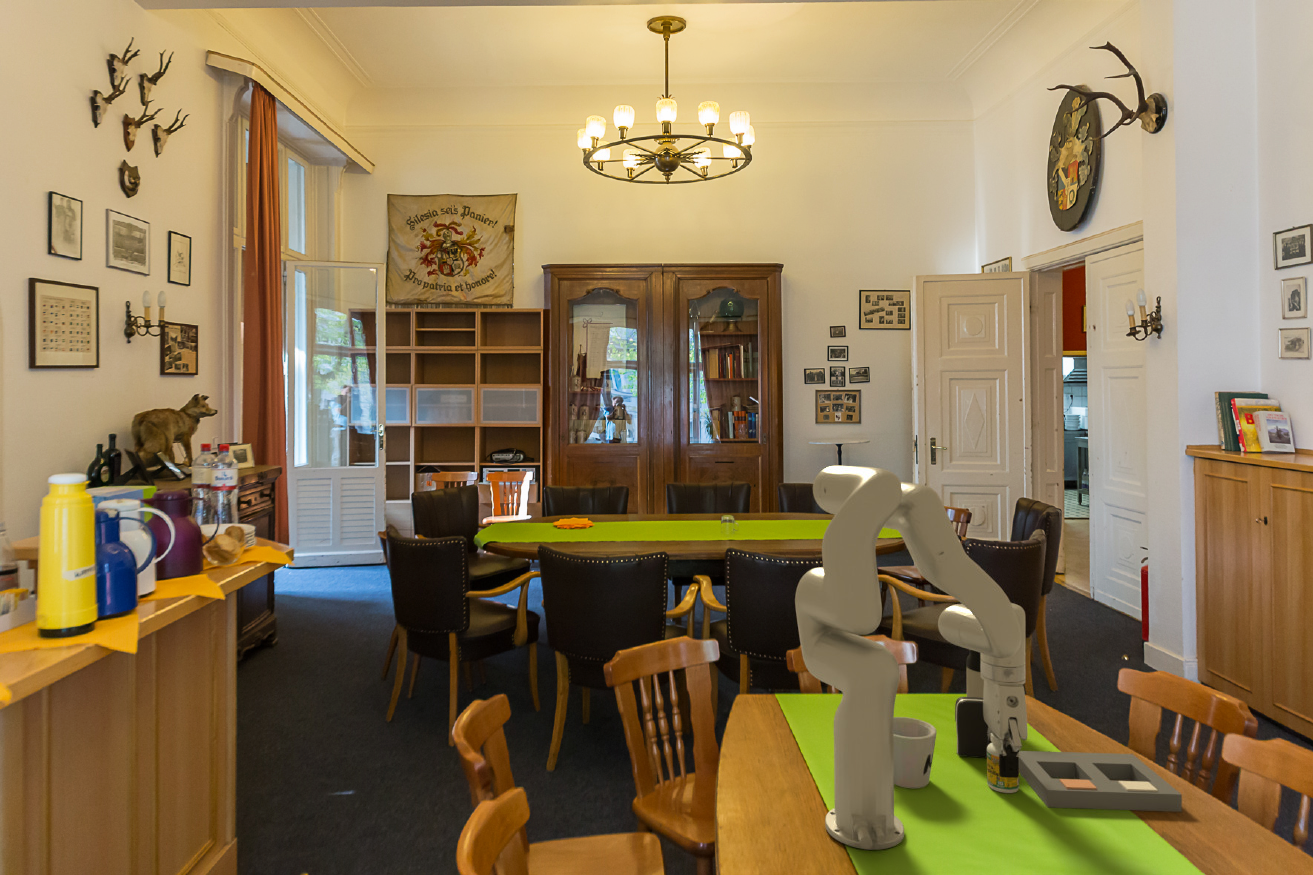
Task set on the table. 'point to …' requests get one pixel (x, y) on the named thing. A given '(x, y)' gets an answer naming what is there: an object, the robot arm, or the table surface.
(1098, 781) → the socket board
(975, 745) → the battery charger
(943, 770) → the table surface
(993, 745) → the supplement bottle
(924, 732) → the mug
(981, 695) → the travel mug
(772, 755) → the table surface
